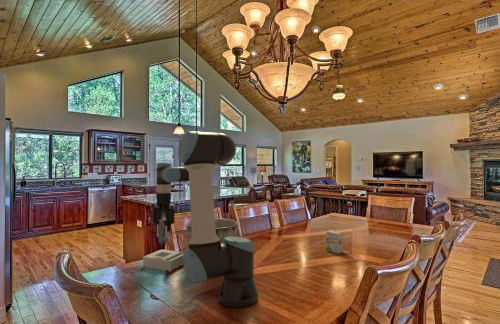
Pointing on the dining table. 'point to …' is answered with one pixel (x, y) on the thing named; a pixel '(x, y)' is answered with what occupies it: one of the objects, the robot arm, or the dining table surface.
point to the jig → (164, 260)
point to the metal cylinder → (162, 231)
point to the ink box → (334, 241)
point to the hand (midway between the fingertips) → (163, 237)
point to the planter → (218, 229)
